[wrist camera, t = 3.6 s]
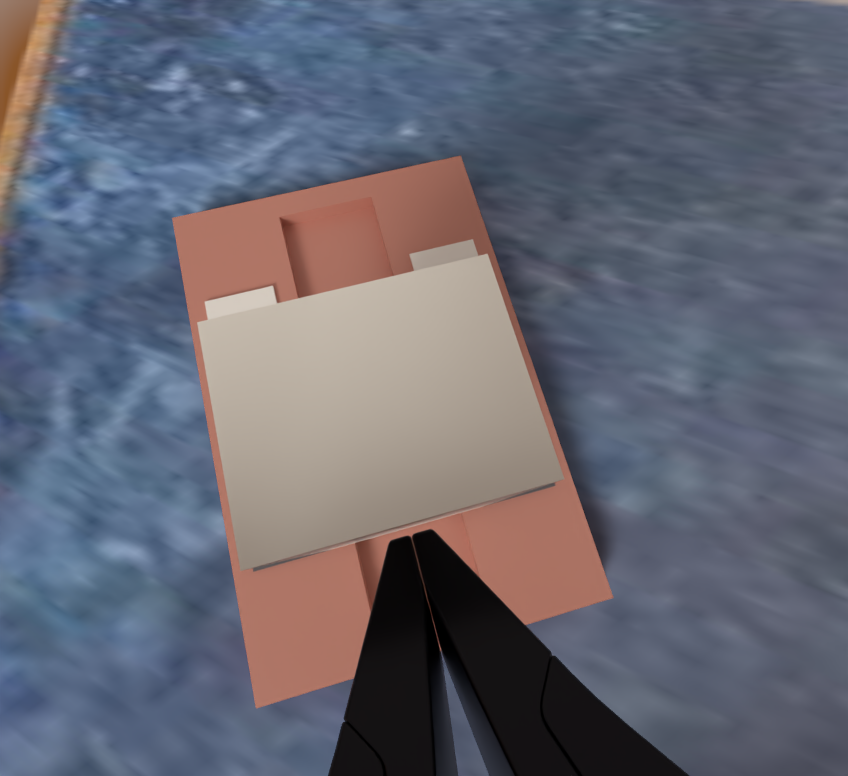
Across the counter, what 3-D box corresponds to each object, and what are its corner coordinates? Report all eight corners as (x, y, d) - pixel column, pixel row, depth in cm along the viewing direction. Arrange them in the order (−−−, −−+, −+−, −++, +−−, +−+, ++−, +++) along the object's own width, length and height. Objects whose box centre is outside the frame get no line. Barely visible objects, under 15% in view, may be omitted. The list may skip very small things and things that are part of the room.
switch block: (597, 592, 19) (615, 598, 17) (268, 693, 18) (254, 709, 16) (457, 178, 23) (461, 152, 22) (187, 238, 22) (170, 215, 21)
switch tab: (476, 508, 19) (565, 479, 8) (339, 547, 18) (240, 571, 8) (445, 403, 20) (487, 253, 9) (314, 438, 19) (196, 322, 9)
